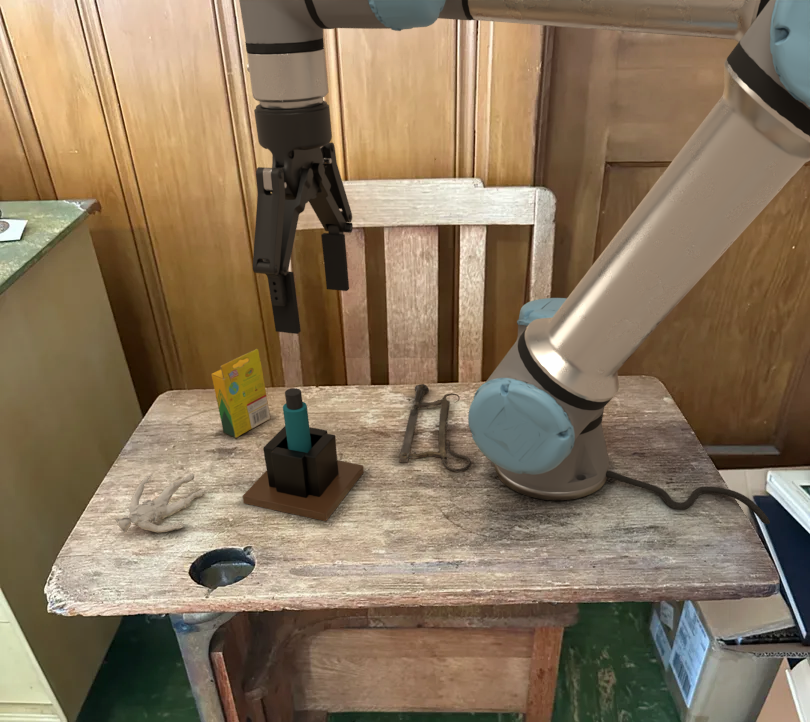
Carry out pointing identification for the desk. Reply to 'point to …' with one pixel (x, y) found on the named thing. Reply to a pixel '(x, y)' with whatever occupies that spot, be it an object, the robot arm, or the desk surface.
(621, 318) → the robot arm
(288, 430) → the teal and black cylinder
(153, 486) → the desk surface
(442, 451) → the hacksaw
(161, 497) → the soldier figure
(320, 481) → the holder
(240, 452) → the desk surface
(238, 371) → the crayon box
